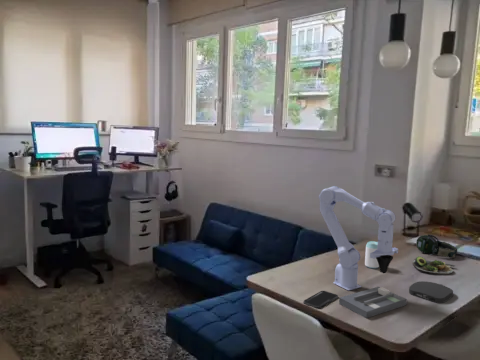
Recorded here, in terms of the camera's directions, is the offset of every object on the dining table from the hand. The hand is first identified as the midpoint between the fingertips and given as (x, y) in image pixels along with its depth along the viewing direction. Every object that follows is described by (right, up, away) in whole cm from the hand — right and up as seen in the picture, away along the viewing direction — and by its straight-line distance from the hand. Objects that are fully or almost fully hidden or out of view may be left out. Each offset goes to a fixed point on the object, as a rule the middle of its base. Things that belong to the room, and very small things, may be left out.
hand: (383, 272), depth 176 cm
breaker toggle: (-2, -7, -6) cm, 10 cm away
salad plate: (+34, -6, +32) cm, 47 cm away
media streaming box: (+21, -10, +2) cm, 23 cm away
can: (+6, -5, +34) cm, 35 cm away
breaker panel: (-7, -11, -8) cm, 15 cm away
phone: (-26, -11, -5) cm, 29 cm away
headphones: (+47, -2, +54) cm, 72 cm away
